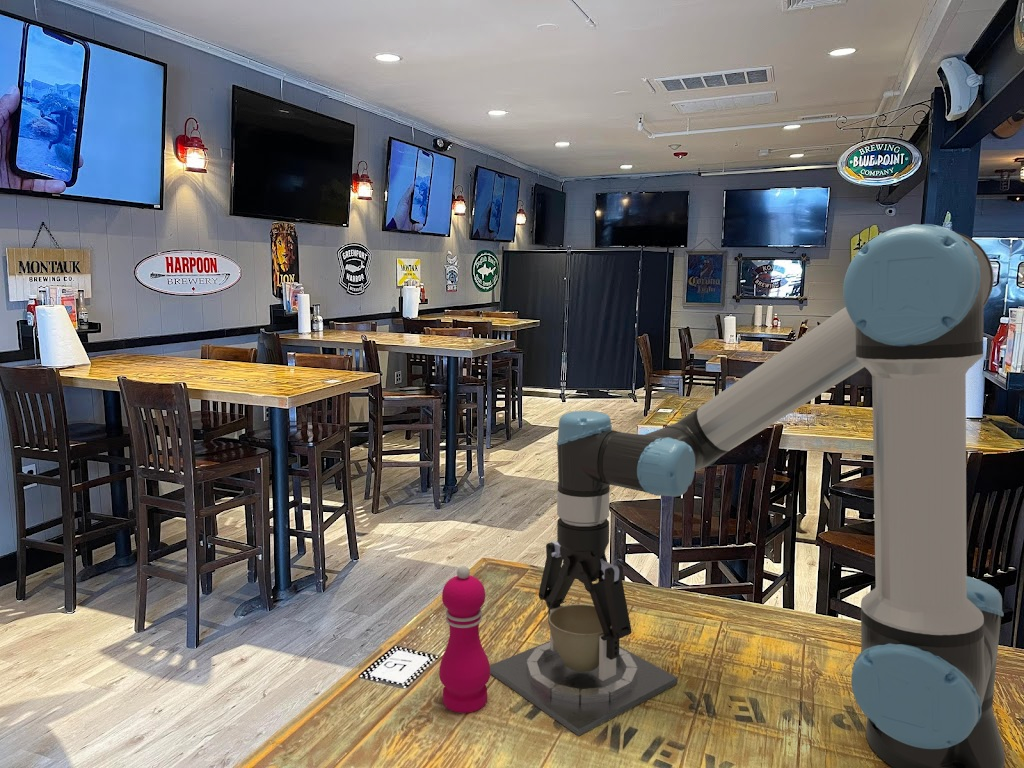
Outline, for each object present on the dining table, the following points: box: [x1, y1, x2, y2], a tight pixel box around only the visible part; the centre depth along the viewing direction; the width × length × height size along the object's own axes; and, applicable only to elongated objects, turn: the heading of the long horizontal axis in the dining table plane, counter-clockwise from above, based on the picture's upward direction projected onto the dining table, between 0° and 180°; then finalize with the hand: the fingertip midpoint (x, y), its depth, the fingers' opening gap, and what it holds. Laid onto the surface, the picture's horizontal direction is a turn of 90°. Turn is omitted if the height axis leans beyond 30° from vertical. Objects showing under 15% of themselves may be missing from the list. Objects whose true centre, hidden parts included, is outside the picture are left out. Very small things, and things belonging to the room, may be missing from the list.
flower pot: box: [548, 603, 612, 672], centre depth 109 cm, size 10×10×7 cm
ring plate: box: [490, 640, 679, 737], centre depth 110 cm, size 20×20×2 cm
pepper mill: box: [438, 565, 491, 714], centre depth 103 cm, size 7×7×20 cm
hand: (582, 661), depth 109 cm, fingers closed on flower pot, 10 cm apart
